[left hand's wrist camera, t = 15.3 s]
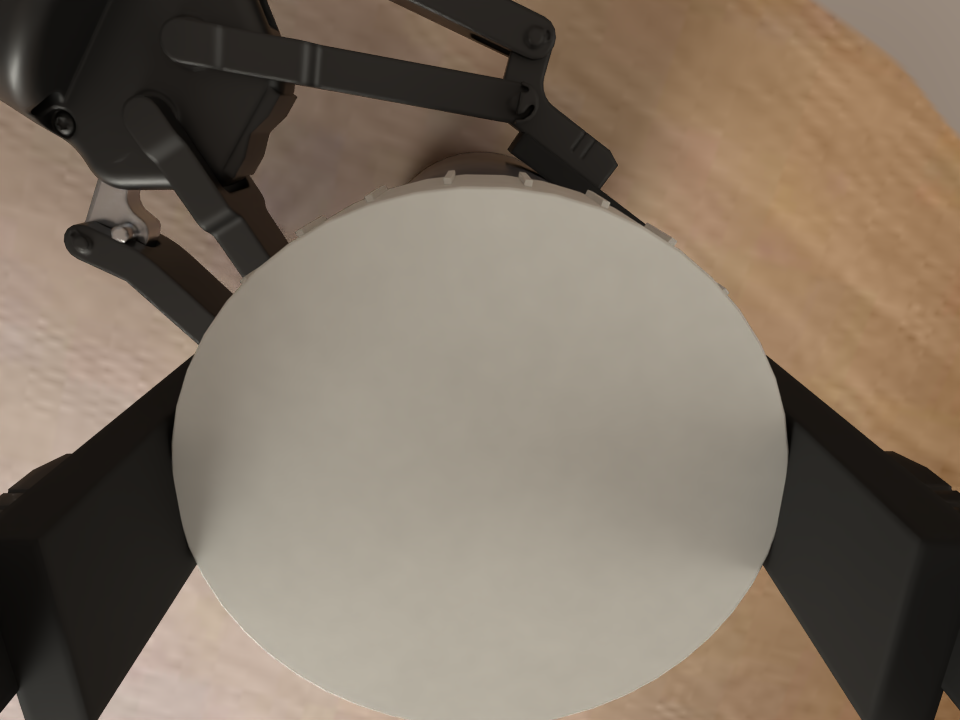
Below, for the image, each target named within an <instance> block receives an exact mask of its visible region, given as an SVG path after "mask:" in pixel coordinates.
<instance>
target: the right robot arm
mask: <svg viewBox="0 0 960 720" xmlns="http://www.w3.org/2000/svg"><path fill="white" fill-rule="evenodd" d="M390 1H392V2H394V3H396V4H398V5H400V6H402V7H404V8H406V9H409V10H411V11H413V12H415V13H417V14H419V15H421V16H423V17H425V18H427V19H429V20H431V21H434V22H436V23H438V24H440V25H442V26H444V27H446V28H448V29H450V30H452V31H454V32H457V33H459V34H461V35H463V36H465V37H467V38H469V39H471V40H473V41H475V42H477V43H479V44H482V45H484V46H486V47H488V48H490V49H492V50H494V51H496V52H498V53H500V54H502V55H505V56H507V57H509V58H508V62H507V66H506V70H505V73H504V77H503V79H500V78H495V77H490V76H484V75H479V74H473V73H468V72H463V71H457V70H452V69H447V68H441V67H436V66H430V65H425V64H420V63H414V62H409V61H404V60H398V59H393V58H387V57H382V56H377V55H371V54H366V53H360V52H355V51H350V50H344V49H339V48H334V47H328V46H323V45H318V44H315V43H311V42H306V41H302V40H297V39H291V38H286V37H281V35H280V32H279V30H278V27H277V25H276V22H275V20H274V17H273V15H272V12H271V10H270V7H269V5H268V2H267V0H0V100H1V101H2V102H4V103H6V104H7V105H9V106H10V107H12V108H13V109H15V110H16V111H18V112H20V113H21V114H23V115H24V116H26V117H27V118H29V119H30V120H32V121H33V122H35V123H37V124H38V125H40V126H42V127H44V128H45V129H47V130H49V131H50V132H52V133H54V134H56V135H58V136H59V137H61V138H63V139H64V140H66V141H67V142H68V143H70V144H71V145H72V146H73V147H74V148H75V149H76V150H77V151H78V152H79V154H80V155H81V156H82V158H83V159H84V160H85V162H86V163H87V165H88V167H89V168H90V170H91V171H92V172H93V173H94V175H95V176H96V177H97V178H98V182H97V185H96V188H95V192H94V195H93V198H92V201H91V205H90V208H89V211H88V215H87V218H86V221H85V222H84V223H80V224H76V225H73V226H71V227H70V228H68V229H67V231H66V233H65V234H64V243H65V246H66V248H67V250H68V251H69V252H70V254H71V255H73V256H74V257H76V258H77V259H79V260H81V261H84V262H86V263H88V264H90V265H92V266H94V267H97V268H99V269H101V270H103V271H105V272H107V273H110V274H112V275H114V276H116V277H118V278H120V279H123V280H125V281H127V282H128V283H129V284H130V285H131V286H132V287H133V288H135V289H136V290H137V291H138V292H139V293H140V294H141V295H143V296H144V297H145V298H146V299H147V300H148V301H149V302H150V303H152V304H153V305H154V306H155V307H156V308H157V309H158V310H160V311H161V312H162V313H163V314H164V315H165V316H166V317H167V318H169V319H170V320H171V321H172V322H173V323H174V324H175V325H177V326H178V327H179V328H180V329H181V330H182V331H183V332H184V333H186V334H187V335H188V336H189V337H190V338H191V339H192V340H194V341H195V342H196V343H197V344H198V345H199V344H200V342H201V340H202V338H203V335H204V334H205V332H206V331H207V329H208V328H209V326H210V325H211V323H212V322H213V320H214V319H215V317H216V316H217V315H218V313H219V312H220V310H221V309H222V307H223V306H224V304H225V303H226V301H227V300H228V299H229V298H230V297H231V296H232V295H233V294H232V293H231V292H230V291H229V290H228V289H227V288H226V287H225V286H224V285H223V284H222V283H221V282H219V281H218V280H217V279H216V278H215V277H214V276H213V275H212V274H211V273H210V272H209V271H208V270H206V269H205V268H204V267H203V266H202V265H201V264H200V263H199V262H198V261H197V260H196V259H194V258H193V257H192V256H191V255H190V254H189V253H188V252H187V251H185V250H184V249H183V248H182V247H181V246H179V245H178V244H176V243H175V242H173V241H172V240H171V239H169V238H167V237H166V236H164V235H162V234H160V228H161V224H160V221H159V220H158V219H157V218H155V217H154V216H153V215H152V214H151V213H149V212H148V211H147V210H146V209H145V208H144V206H143V205H142V203H141V200H140V190H174V191H175V192H176V194H177V195H178V196H179V198H180V199H181V201H182V202H183V204H184V205H185V206H186V208H187V209H188V211H189V212H190V214H191V215H192V217H193V218H194V219H195V221H196V222H197V223H198V225H199V226H200V227H201V228H202V229H203V230H205V231H206V232H208V233H210V234H212V235H213V236H214V237H215V239H216V240H217V241H218V243H219V244H220V246H221V247H222V248H223V250H224V251H225V253H226V254H227V256H228V257H229V259H230V260H231V261H232V263H233V264H234V266H235V267H236V269H237V270H238V272H239V273H240V274H241V276H242V277H245V276H246V275H248V274H249V273H251V272H252V271H254V270H255V269H257V268H258V267H260V266H261V265H262V264H264V263H265V262H266V261H267V260H269V259H270V258H271V257H272V256H274V255H275V254H276V253H277V252H279V251H280V250H281V249H282V248H284V247H285V246H286V245H287V244H289V243H288V242H287V240H286V238H285V237H284V235H283V234H282V232H281V231H280V229H279V228H278V226H277V225H276V223H275V222H274V220H273V219H272V217H271V216H270V214H269V213H268V211H267V209H266V207H265V200H264V198H263V196H262V194H261V192H260V191H259V189H258V188H257V186H256V185H255V183H254V182H253V180H252V179H251V177H250V175H252V174H254V173H255V171H256V169H257V167H258V166H259V164H260V162H261V160H262V159H263V157H264V154H265V150H266V146H267V142H268V138H269V134H270V132H271V131H272V130H273V129H274V128H275V127H276V126H277V125H278V124H279V123H280V122H281V121H282V120H283V119H284V118H285V117H286V116H287V114H288V113H289V111H290V109H291V107H292V106H293V104H294V102H295V100H296V99H297V96H295V95H294V94H293V93H294V89H295V84H296V85H302V86H307V87H313V88H318V89H324V90H329V91H335V92H341V93H346V94H352V95H357V96H363V97H368V98H374V99H379V100H385V101H390V102H396V103H401V104H407V105H412V106H418V107H423V108H428V109H434V110H439V111H445V112H450V113H456V114H461V115H467V116H472V117H478V118H483V119H489V120H494V121H500V122H505V123H508V124H510V125H511V126H512V127H514V128H515V129H516V130H518V131H519V133H518V135H517V136H516V138H515V139H514V141H513V142H512V143H511V145H510V146H509V148H508V149H507V150H508V151H509V152H510V153H511V154H513V155H514V156H515V157H517V158H518V159H519V160H521V161H522V162H523V163H525V164H526V165H527V166H529V167H530V168H531V169H533V170H534V171H535V172H537V173H538V174H539V175H541V176H542V177H543V178H545V179H546V180H547V181H549V182H550V183H551V184H554V185H558V186H561V187H565V188H568V189H571V190H575V191H578V192H581V193H583V194H586V192H587V190H590V191H592V192H594V193H596V194H597V195H599V196H601V197H602V198H604V199H605V200H607V201H609V202H610V205H609V206H611V207H614V208H615V209H617V210H619V211H620V212H622V213H623V214H625V215H626V216H628V217H630V218H631V219H633V220H634V221H636V222H637V223H639V224H641V225H642V226H645V225H646V224H645V223H643V222H642V221H641V220H639V219H638V218H637V217H635V216H634V215H633V214H631V213H630V212H629V211H627V210H626V209H625V208H624V207H622V206H621V205H620V204H618V203H617V202H616V201H614V200H613V199H612V198H610V197H609V196H608V195H607V194H605V193H604V192H603V191H601V190H600V189H601V187H602V186H603V185H604V183H605V182H606V181H607V179H608V178H609V177H610V175H611V174H612V173H613V171H614V170H615V169H616V167H617V166H618V164H617V163H616V161H615V159H614V157H613V155H612V153H611V152H610V150H608V149H607V148H606V147H605V146H603V145H602V144H601V143H600V142H598V141H597V140H595V139H594V138H593V137H592V136H591V135H589V134H588V133H587V132H585V131H584V130H583V129H582V128H580V127H579V126H578V125H576V124H575V123H574V122H573V121H571V120H570V119H569V118H568V117H566V116H565V115H564V114H562V113H561V112H560V111H559V110H557V109H556V108H555V107H553V106H552V105H551V104H550V103H549V101H548V100H547V98H546V96H545V93H544V88H543V81H544V76H545V72H546V69H547V65H548V62H549V58H550V55H551V51H552V48H553V47H554V44H555V39H556V35H555V29H554V27H553V25H552V23H551V21H549V20H548V19H547V18H546V17H544V16H542V15H540V14H538V13H536V12H534V11H532V10H530V9H528V8H526V7H524V6H522V5H520V4H518V3H516V2H514V1H512V0H390Z"/></svg>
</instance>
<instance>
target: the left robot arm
mask: <svg viewBox="0 0 960 720" xmlns="http://www.w3.org/2000/svg"><path fill="white" fill-rule="evenodd" d="M193 356H194V355H193ZM193 356H191V357H190V358H189V359H188V360H186V361H185V362H184V363H183V364H182V365H180V366H179V367H178V368H177V369H175V370H174V371H173V372H172V373H171V374H169V375H168V376H167V377H166V378H164V379H163V380H162V381H161V382H160V383H158V384H157V385H156V386H155V387H153V388H152V389H151V390H150V391H148V392H147V393H146V394H145V395H144V396H142V397H141V398H140V399H139V400H137V401H136V402H135V403H134V404H133V405H131V406H130V407H129V408H128V409H126V410H125V411H124V412H123V413H122V414H120V415H119V416H118V417H117V418H115V419H114V420H113V421H112V422H110V423H109V424H108V425H107V426H106V427H104V428H103V429H102V430H101V431H99V432H98V433H97V434H96V435H95V436H93V437H92V438H91V439H90V440H88V441H87V442H86V443H85V444H84V445H82V446H81V447H80V448H79V449H77V450H76V451H75V452H74V453H72V454H65V455H63V456H61V457H59V458H57V459H55V460H53V461H51V462H49V463H47V464H45V465H42V466H40V467H38V468H36V469H34V470H32V471H31V472H30V473H29V474H27V475H26V476H25V477H23V478H22V479H21V480H20V481H18V482H17V483H16V484H14V485H13V486H12V487H11V488H9V489H8V493H3V494H2V495H0V713H1V711H2V710H3V709H4V708H5V707H6V705H7V704H8V703H9V702H10V700H11V699H12V698H13V697H14V695H15V694H16V693H17V696H18V699H19V703H20V706H21V709H22V712H23V715H24V718H25V720H98V718H99V717H100V715H101V714H102V712H103V710H104V709H105V707H106V706H107V704H108V703H109V701H110V700H111V698H112V696H113V695H114V693H115V692H116V690H117V689H118V687H119V685H120V684H121V682H122V681H123V679H124V678H125V676H126V674H127V673H128V671H129V670H130V668H131V667H132V665H133V663H134V662H135V660H136V659H137V657H138V656H139V654H140V653H141V651H142V649H143V648H144V646H145V645H146V643H147V642H148V640H149V638H150V637H151V635H152V634H153V632H154V631H155V629H156V627H157V626H158V624H159V623H160V621H161V620H162V618H163V616H164V615H165V613H166V612H167V610H168V609H169V607H170V605H171V604H172V602H173V601H174V599H175V598H176V596H177V595H178V593H179V591H180V590H181V588H182V587H183V585H184V584H185V582H186V580H187V579H188V577H189V576H190V574H191V573H192V571H193V569H194V568H195V566H196V565H197V563H196V561H195V559H194V557H193V555H192V553H191V551H190V548H189V546H188V543H187V540H186V537H185V534H184V530H183V525H182V521H181V516H180V510H179V505H178V500H177V494H176V489H175V483H174V478H173V471H172V435H173V428H174V420H175V413H176V406H177V402H178V399H179V396H180V392H181V389H182V386H183V382H184V379H185V375H186V372H187V369H188V367H189V365H190V363H191V361H192V359H193ZM766 357H767V359H768V362H769V364H770V366H771V369H772V371H773V373H774V375H775V378H776V381H777V385H778V389H779V393H780V397H781V401H782V405H783V409H784V412H785V419H786V429H787V439H788V450H789V456H788V467H787V473H786V480H785V485H784V490H783V496H782V501H781V507H780V512H779V517H778V523H777V528H776V532H775V536H774V539H773V542H772V545H771V547H770V550H769V553H768V555H767V557H766V559H765V561H764V563H763V566H764V567H765V569H766V571H767V572H768V574H769V575H770V577H771V578H772V580H773V582H774V583H775V585H776V586H777V588H778V589H779V591H780V593H781V594H782V596H783V597H784V599H785V600H786V602H787V603H788V605H789V607H790V608H791V610H792V611H793V613H794V614H795V616H796V618H797V619H798V621H799V622H800V624H801V625H802V627H803V629H804V630H805V632H806V633H807V635H808V636H809V638H810V640H811V641H812V643H813V644H814V646H815V647H816V649H817V651H818V652H819V654H820V655H821V657H822V658H823V660H824V661H825V663H826V665H827V666H828V668H829V669H830V671H831V672H832V674H833V676H834V677H835V679H836V680H837V682H838V683H839V685H840V687H841V688H842V690H843V691H844V693H845V694H846V696H847V698H848V699H849V701H850V702H851V704H852V705H853V707H854V709H855V710H856V712H857V713H858V715H859V716H860V718H861V720H934V718H935V715H936V712H937V709H938V706H939V703H940V700H941V697H942V694H943V690H944V691H945V693H946V694H947V695H948V696H949V698H950V699H951V700H952V701H953V702H954V704H955V705H956V706H957V707H958V709H959V710H960V493H959V492H958V491H952V489H951V486H950V485H949V484H947V483H946V482H945V481H943V480H942V479H941V478H940V477H938V476H937V475H936V474H934V473H933V472H932V471H931V470H929V469H928V468H927V467H925V466H922V465H920V464H918V463H916V462H914V461H912V460H910V459H908V458H906V457H904V456H902V455H899V454H897V453H895V452H893V451H883V450H882V449H881V448H879V447H878V446H877V445H876V444H874V443H873V442H872V441H871V440H870V439H868V438H867V437H866V436H865V435H863V434H862V433H861V432H860V431H859V430H857V429H856V428H855V427H854V426H852V425H851V424H850V423H849V422H848V421H846V420H845V419H844V418H843V417H841V416H840V415H839V414H838V413H836V412H835V411H834V410H833V409H832V408H830V407H829V406H828V405H827V404H825V403H824V402H823V401H822V400H821V399H819V398H818V397H817V396H816V395H814V394H813V393H812V392H811V391H810V390H808V389H807V388H806V387H805V386H803V385H802V384H801V383H800V382H798V381H797V380H796V379H795V378H794V377H792V376H791V375H790V374H789V373H787V372H786V371H785V370H784V369H783V368H781V367H780V366H779V365H778V364H776V363H775V362H774V361H773V360H772V359H770V358H769V357H768V356H767V355H766Z"/></svg>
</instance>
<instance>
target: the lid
mask: <svg viewBox="0 0 960 720" xmlns="http://www.w3.org/2000/svg"><path fill="white" fill-rule="evenodd" d="M609 205H610V202H609V201H607V200H605V199H604V198H602V197H601V196H599V195H597V194H596V193H594V192H592V191H590V190H587V192H586V194H583V193H581V192H578V191H575V190H571V189H568V188H565V187H561V186H558V185H554V184H551V183H548V182H544V181H539V180H533V179H531V178H530V177H529V176H528V175H527V174H526V173H525V172H519V177H513V176H507V175H468V174H465V175H457V176H455V170H451V171H448V172H447V174H446V175H445V177H440V178H431V179H425V180H421V181H417V182H413V183H410V184H406V185H402V186H398V187H394V188H390V189H387V187H386V185H383V186H380V187H379V188H377V189H376V190H374V191H373V192H371V193H369V194H368V195H366V196H365V199H363V200H361V201H359V202H356V203H354V204H352V205H350V206H349V207H347V208H345V209H344V210H342V211H340V212H339V213H337V214H335V215H333V216H332V217H330V218H328V219H327V218H326V217H325V216H324V215H322V216H321V217H319V218H317V219H316V220H314V221H312V222H311V223H309V224H307V225H306V226H304V227H302V228H301V229H299V230H298V231H296V232H295V233H296V235H297V236H298V238H296V239H295V240H293V241H292V242H290V243H289V244H287V245H286V246H285V247H284V248H282V249H281V250H280V251H279V252H277V253H276V254H275V255H274V256H272V257H271V258H270V259H269V260H267V261H266V262H265V263H264V264H262V265H261V266H260V267H258V268H257V269H255V270H254V271H252V272H251V273H249V274H248V275H246V276H245V277H243V279H242V280H241V281H240V283H242V285H241V286H240V287H239V288H238V289H237V290H236V292H235V293H234V294H233V295H232V296H231V297H230V298H229V299H228V300H227V301H226V303H225V304H224V306H223V307H222V309H221V310H220V312H219V313H218V315H217V316H216V317H215V319H214V320H213V322H212V323H211V325H210V326H209V328H208V329H207V331H206V332H205V334H204V335H203V338H202V340H201V342H200V344H199V346H198V348H197V350H196V352H195V354H194V356H193V359H192V361H191V363H190V365H189V367H188V369H187V372H186V375H185V379H184V382H183V386H182V389H181V392H180V396H179V399H178V402H177V406H176V413H175V420H174V428H173V435H172V471H173V478H174V483H175V489H176V494H177V500H178V505H179V510H180V516H181V521H182V525H183V530H184V534H185V537H186V540H187V543H188V546H189V548H190V551H191V553H192V555H193V557H194V559H195V561H196V563H197V565H198V567H199V569H200V571H201V573H202V575H203V577H204V579H205V580H206V582H207V584H208V585H209V587H210V588H211V590H212V591H213V593H214V594H215V596H216V597H217V599H218V600H219V602H220V603H221V605H222V606H223V607H224V609H225V610H226V611H227V612H228V613H229V614H230V616H231V617H232V618H233V619H234V620H235V621H236V623H237V624H238V625H239V626H240V627H241V628H242V630H243V631H244V632H245V633H246V634H247V635H248V636H250V637H251V638H252V639H253V640H254V641H255V642H256V643H257V644H258V645H259V646H260V647H262V648H263V649H264V650H265V651H266V652H267V653H268V654H269V655H270V656H272V657H273V658H275V659H276V660H277V661H279V662H280V663H281V664H283V665H284V666H286V667H287V668H288V669H290V670H291V671H293V672H294V673H295V674H297V675H298V676H300V677H302V678H304V679H305V680H307V681H309V682H311V683H312V684H314V685H316V686H318V687H319V688H321V689H323V690H325V691H326V692H329V693H331V694H333V695H335V696H338V697H340V698H342V699H345V700H347V701H349V702H352V703H354V704H356V705H359V706H362V707H365V708H368V709H371V710H374V711H377V712H380V713H384V714H387V715H390V716H394V717H399V718H404V719H408V720H552V719H557V718H562V717H566V716H569V715H572V714H576V713H579V712H583V711H586V710H590V709H593V708H596V707H598V706H601V705H603V704H606V703H608V702H610V701H613V700H615V699H618V698H620V697H623V696H625V695H627V694H629V693H631V692H633V691H635V690H637V689H638V688H640V687H642V686H644V685H646V684H648V683H650V682H652V681H653V680H655V679H657V678H658V677H660V676H661V675H663V674H664V673H666V672H667V671H668V670H670V669H671V668H673V667H674V666H676V665H677V664H679V663H680V662H682V661H683V660H684V659H686V658H687V657H688V656H689V655H690V654H691V653H692V652H694V651H695V650H696V649H697V648H698V647H699V646H701V645H702V644H703V643H704V642H705V641H706V640H708V639H709V638H710V637H711V636H712V634H713V633H714V632H715V631H716V630H717V629H718V628H719V627H720V626H721V625H722V624H723V622H724V621H725V620H726V619H727V618H728V617H729V616H730V615H731V614H732V612H733V611H734V610H735V608H736V607H737V605H738V604H739V603H740V601H741V600H742V598H743V597H744V595H745V594H746V593H747V591H748V590H749V588H750V587H751V586H752V584H753V582H754V580H755V578H756V576H757V574H758V572H759V571H760V569H761V567H762V565H763V563H764V561H765V559H766V557H767V555H768V553H769V550H770V547H771V545H772V542H773V539H774V536H775V532H776V528H777V523H778V517H779V512H780V507H781V501H782V496H783V490H784V485H785V480H786V473H787V467H788V456H789V450H788V439H787V429H786V419H785V412H784V409H783V405H782V401H781V397H780V393H779V389H778V385H777V381H776V378H775V375H774V373H773V371H772V369H771V366H770V364H769V362H768V359H767V357H766V355H765V352H764V350H763V348H762V345H761V343H760V341H759V340H758V338H757V337H756V335H755V333H754V332H753V330H752V329H751V327H750V325H749V324H748V322H747V321H746V319H745V317H744V316H743V314H742V313H741V311H740V309H739V308H738V307H737V306H736V305H735V304H734V302H733V301H732V300H731V299H730V298H729V297H728V294H729V292H728V291H727V289H726V288H724V287H723V286H721V285H720V284H719V283H717V282H716V281H715V280H714V279H713V278H712V277H711V276H710V275H709V274H707V273H706V272H705V271H704V270H703V269H702V268H700V267H699V266H698V265H697V264H696V263H695V262H694V261H692V260H691V259H690V258H689V257H688V256H687V255H685V254H684V253H683V252H682V251H681V250H680V249H678V248H676V247H675V246H674V245H675V244H676V243H677V241H676V240H675V239H673V238H672V237H670V236H669V235H667V234H665V233H664V232H662V231H661V230H659V229H657V228H656V227H654V226H652V225H651V224H649V223H646V225H645V226H642V225H641V224H639V223H637V222H636V221H634V220H633V219H631V218H630V217H628V216H626V215H625V214H623V213H622V212H620V211H619V210H617V209H615V208H614V207H611V206H609Z"/></svg>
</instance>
